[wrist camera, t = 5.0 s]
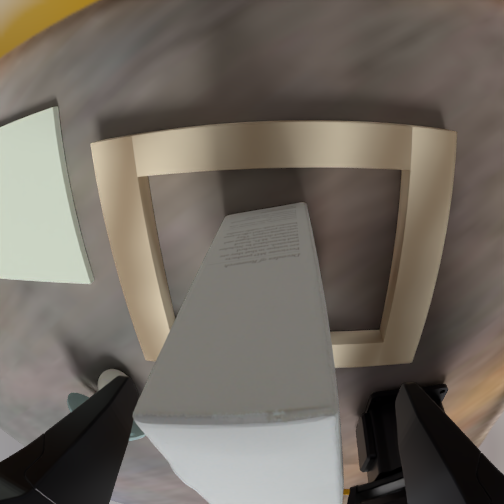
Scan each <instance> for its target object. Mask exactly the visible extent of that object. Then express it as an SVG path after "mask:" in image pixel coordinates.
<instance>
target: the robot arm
mask: <svg viewBox="0 0 504 504" xmlns="http://www.w3.org/2000/svg"><path fill="white" fill-rule="evenodd" d="M447 391H448V388H447V385H446V384H439V385H433V386H426V387H420V386H419V385H418V384H417V383H415V382H408V383H403V384H402V386H401V388H400V390H393V391H383V392H375V393H373V394H372V395H371V396H370V398H369V401H368V404H367V407H366V410H365V413H363V414H362V415H361V417H360V420H359V423H358V426H357V429H356V438H357V447H358V456H359V466H360V470H361V471H362V472H367V474H368V483H367V484H363V485H360V486H358V485H357V486H353V487H350V492H349V497H348V502H347V504H504V475H503V474H502V473H501V472H500V471H499V470H498V469H497V468H496V467H495V466H494V465H493V464H492V463H491V462H490V461H489V460H488V459H487V458H486V457H485V456H484V454H483V453H481V451H480V450H479V449H478V448H477V447H476V446H475V445H474V444H473V442H472V441H471V440H470V439H469V438H468V437H467V436H466V435H465V434H464V433H463V432H462V431H461V430H460V429H459V427H458V426H457V425H456V424H455V423H454V422H453V421H452V420H451V419H450V418H449V417H448V416H447V415H446V414H445V411H444V408H443V405H442V401H443V399H444V397H445V395H446V393H447ZM137 401H138V392H137V390H136V387H135V385H134V383H133V381H132V379H131V378H130V377H128V376H122V375H119V376H117V377H115V378H114V379H113V380H112V381H110V382H109V383H108V384H106V385H105V386H104V387H103V388H101V389H100V390H99V391H98V392H96V393H95V394H94V395H92V396H91V397H90V398H89V399H87V400H86V401H85V402H83V403H82V404H81V405H80V406H78V407H77V408H76V409H74V410H73V411H72V412H71V413H69V414H68V415H67V416H65V417H64V418H63V419H62V420H60V421H59V422H58V423H56V424H55V425H54V426H53V427H51V428H50V429H49V430H47V431H46V432H45V434H42V435H41V436H39V437H38V438H37V439H35V440H34V441H33V442H31V443H30V444H29V445H27V446H26V447H24V448H23V449H21V450H19V451H18V452H16V453H15V454H13V455H11V456H10V457H9V458H7V459H5V460H3V461H1V462H0V504H109V502H110V499H111V496H112V492H113V489H114V486H115V482H116V479H117V476H118V473H119V469H120V466H121V463H122V460H123V457H124V454H125V451H126V448H127V445H128V441H129V438H130V434H131V430H132V425H133V420H134V419H133V417H132V416H133V412H134V409H135V407H136V405H137Z"/></svg>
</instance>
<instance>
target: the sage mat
mask: <svg viewBox="0 0 504 504" xmlns="http://www.w3.org/2000/svg"><path fill="white" fill-rule="evenodd" d="M0 279H13V280H28V281H43V282H60V283H79V284H91V283H92V282H93V281H94V277H93V274H92V271H91V267H90V264H89V260H88V257H87V253H86V250H85V246H84V243H83V239H82V235H81V231H80V227H79V223H78V219H77V215H76V211H75V206H74V202H73V197H72V192H71V188H70V182H69V177H68V172H67V166H66V161H65V155H64V148H63V142H62V135H61V127H60V119H59V110H58V106H57V107H52V108H49V109H46V110H43V111H40V112H37V113H35V114H32V115H29V116H27V117H24V118H22V119H19V120H16V121H14V122H12V123H9V124H7V125H4V126H2V127H0Z"/></svg>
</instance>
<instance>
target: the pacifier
mask: <svg viewBox="0 0 504 504" xmlns="http://www.w3.org/2000/svg"><path fill="white" fill-rule="evenodd" d="M119 375H122V376H127V375H125V374H124V373H123V372H121V371H119V370H116V369H109V370H106V371H104V372H103V373H102V374H101V375H100V377H99V379H98V390H100V389H101V388H103V387H104V386H105V385H106V384H108V383H109V382H110V381H112V380H113V379H114V378H115V377H117V376H119ZM87 399H89V397H87V396H85V395H82V394H78V393H70V394H69V395H68V400H67V404H68V408H69V410H70V412H72V411H73V410H74V409H76V408H77V407H78V406H80V405H81V404H82V403H83V402H85V401H86V400H87ZM144 436H146V435H145V434H144V433H143V431H142V430H141V429H140V428H139V427H138V425H137V424H136V423H135V421H134V420H133V425H132V430H131V434H130V438H129V441H132V440H137V439H141V438H143V437H144Z"/></svg>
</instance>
